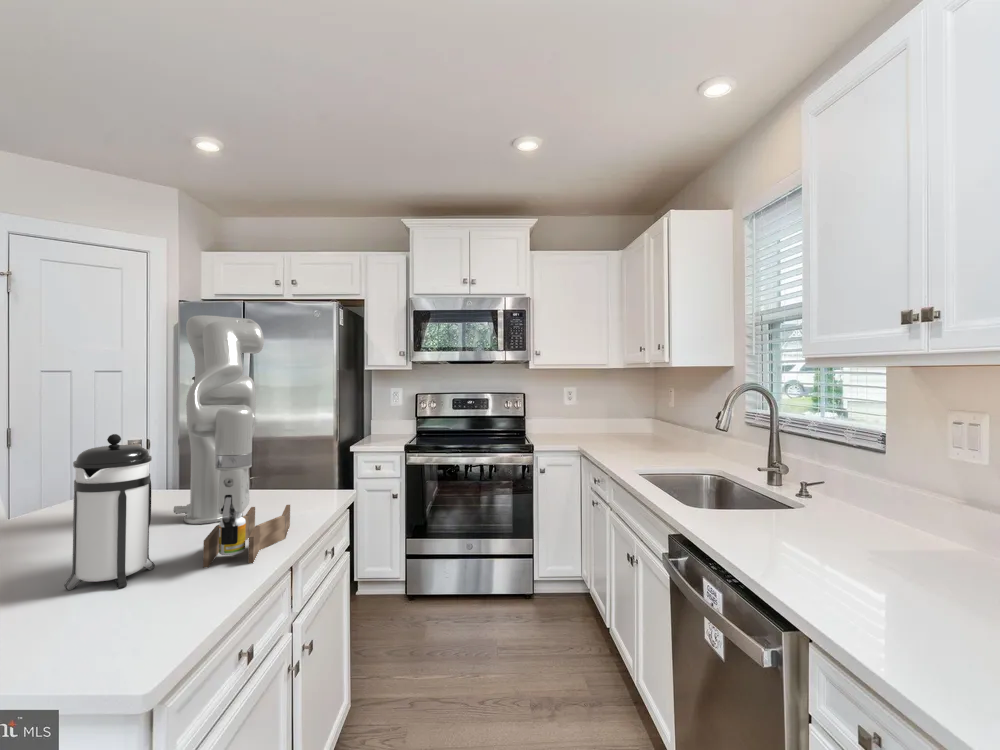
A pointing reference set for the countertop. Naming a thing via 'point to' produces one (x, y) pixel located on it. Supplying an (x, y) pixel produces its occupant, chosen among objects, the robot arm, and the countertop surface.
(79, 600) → the countertop surface
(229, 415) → the robot arm
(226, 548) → the supplement bottle
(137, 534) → the coffee press
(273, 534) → the channel
